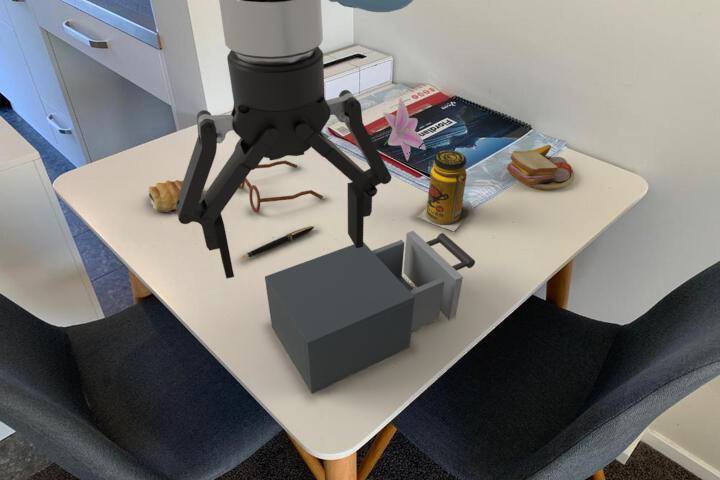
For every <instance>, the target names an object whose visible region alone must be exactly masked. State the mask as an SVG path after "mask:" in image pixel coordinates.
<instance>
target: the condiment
mask: <svg viewBox="0 0 720 480" xmlns="http://www.w3.org/2000/svg"><path fill="white" fill-rule="evenodd" d="M433 160H434V161H433V163H432V164H433V167H432V168H431V169H430V176H429V185H428V186H429V187H428V195H427V202H426V203H427V205H426V208H425V209H424V210H423V211H421V213H420V214H419V215H418V216H417V218H418V219H420V220H423V221H425V222H427V223H430V224H433V225H434V226H437V227H440V228H443V229H447V230H449V231H452V232H455V231H456V230H457V229H459V227H460V226H461V225H462V224H463V222H464V221H465V220H466V218H467V217H468V216H469V215H470V214H471V213H472V212H473V210H475V207H474V206H469V205H467V204H463V203H464V202H463V201H464V194H465V187H466V181H467V177H468V176H467V170H466V168H467V166H466V164H467V157H466V156H465V155H464V154H463V153H461V152H460V151H456V150H452V149H451V150H450V149H447V150H441V151H438V152H437V153H436V154H435V155H434V159H433Z"/></svg>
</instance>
